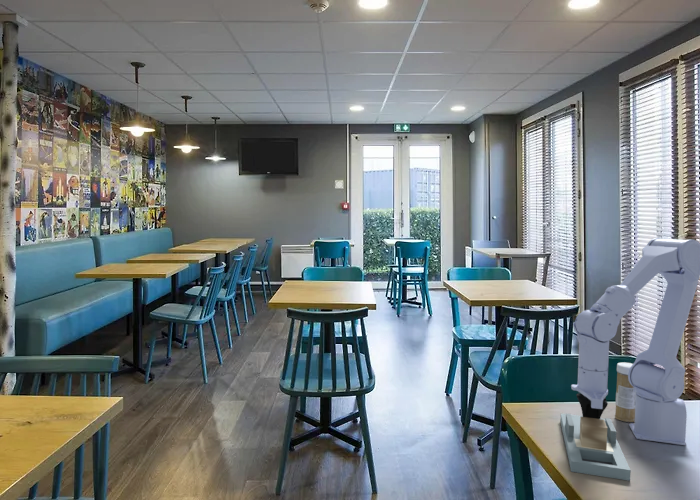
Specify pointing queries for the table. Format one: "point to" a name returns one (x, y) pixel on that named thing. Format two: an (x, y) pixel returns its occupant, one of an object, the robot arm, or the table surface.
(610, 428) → the deck
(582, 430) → the block
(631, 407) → the sprinkles bottle
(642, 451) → the table surface
